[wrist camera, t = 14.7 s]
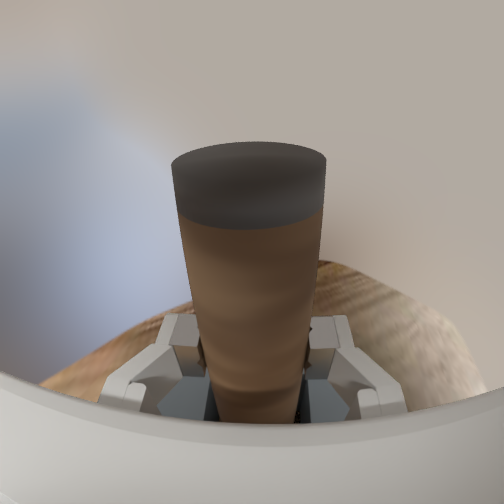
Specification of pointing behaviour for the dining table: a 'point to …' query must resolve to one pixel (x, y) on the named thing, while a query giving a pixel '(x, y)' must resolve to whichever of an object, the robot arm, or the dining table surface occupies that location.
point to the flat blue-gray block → (205, 409)
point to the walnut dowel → (252, 269)
